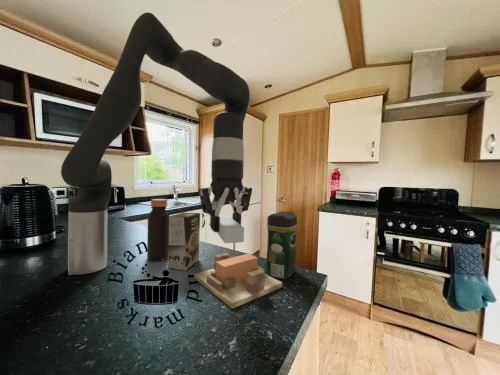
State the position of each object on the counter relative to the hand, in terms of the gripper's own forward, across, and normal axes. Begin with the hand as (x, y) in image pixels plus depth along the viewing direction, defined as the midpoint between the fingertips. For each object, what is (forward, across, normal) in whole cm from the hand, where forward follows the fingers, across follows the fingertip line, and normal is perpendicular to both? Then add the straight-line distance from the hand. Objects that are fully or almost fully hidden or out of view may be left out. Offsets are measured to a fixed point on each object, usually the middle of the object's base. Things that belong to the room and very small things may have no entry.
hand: (226, 229), depth 53 cm
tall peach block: (+14, -6, -3) cm, 16 cm away
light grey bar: (+1, 0, 0) cm, 1 cm away
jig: (+16, -6, -3) cm, 17 cm away
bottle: (+16, +6, -33) cm, 37 cm away
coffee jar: (+16, -20, 0) cm, 25 cm away
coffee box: (+16, +1, -23) cm, 28 cm away
